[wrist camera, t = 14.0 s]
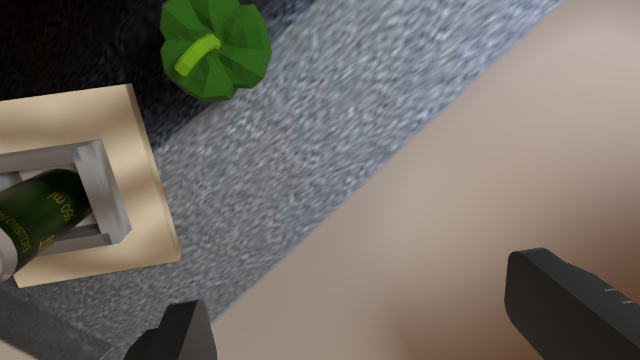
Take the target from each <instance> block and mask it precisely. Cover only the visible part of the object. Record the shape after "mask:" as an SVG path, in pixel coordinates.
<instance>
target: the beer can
mask: <svg viewBox="0 0 640 360" xmlns="http://www.w3.org/2000/svg"><path fill="white" fill-rule="evenodd" d="M92 211H93V210H92V207H91V204H90V202H89V199H88V196H87V194H86V191H85V188H84V186H83V183H82V180H81V178H80V175H79V173H78V172H75V171H73V170H68V169H60V168H56V169H50V170H47V171H44V172H42V173H40V174H38V175H36V176H33V177H31V178H29V179H27V180H24V181H22V182H20V183H18V184H16V185H13V186H11V187H9V188H7V189H5V190H2V191H0V283H2V282H4V281H6V280H8V279H9V278H10V277H11V276H13V275H14V274H15V273H16V272H18V271H19V270H20V269H22V268H23V267H24V266H25V265H27V264H28V263H29V262H30V261H32V260H33V259H34V258H36V257H37V256H38V255H39V254H41V253H42V252H43V251H44V250H46V249H47V248H48V247H50V246H51V245H52V244H53V243H55V242H56V241H57V240H58V239H60V238H61V237H62V236H64V235H65V234H66V233H67V232H69V231H70V230H71V229H73V228H74V227H75V226H76V225H78V224H79V223H80V222H81V221H83V220H84V219H85V218H87V217H88V215H89V214H90V213H91V212H92Z"/></svg>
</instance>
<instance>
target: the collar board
mask: <svg viewBox="0 0 640 360" xmlns="http://www.w3.org/2000/svg"><path fill="white" fill-rule="evenodd" d="M56 168H60V169H68V170H73V171H75V172H78V173H79V175H80V178H81V180H82V183H83V186H84V188H85V191H86V194H87V196H88V199H89V202H90V204H91V207H92V210H93V211H92V212H91V213H90V214H89V215H88V217H87V218H85V219H84V220H83V221H81V222H80V223H79V224H78V225H76V226H75V227H74V228H73V229H71V230H70V231H69V232H67V233H66V234H65V235H64V236H62V237H61V238H60V239H58V240H57V241H56V242H55V243H53V244H52V245H51V246H50V247H48V248H47V249H46V250H44V251H43V252H42V253H41V254H39V255H38V256H37V257H36V258H34V259H33V260H32V261H30V262H29V263H28V264H27V265H25V266H24V267H23V268H22V269H20V270H19V271H18V272H16V273H15V274H14V275H13V276H14V279H15V281H16V283H17V285H18V287H19V288H22V287H28V286H34V285H40V284H46V283H52V282H58V281H63V280H69V279H75V278H81V277H87V276H93V275H99V274H105V273H111V272H116V271H122V270H128V269H134V268H140V267H146V266H152V265H158V264H163V263H169V262H175V261H179V259H180V257H181V255H182V252H181V248H180V245H179V241H178V238H177V235H176V231H175V228H174V225H173V221H172V218H171V214H170V211H169V208H168V204H167V201H166V198H165V194H164V191H163V187H162V184H161V181H160V177H159V174H158V171H157V167H156V164H155V160H154V157H153V154H152V150H151V147H150V144H149V140H148V137H147V133H146V130H145V127H144V123H143V120H142V117H141V113H140V110H139V107H138V103H137V100H136V96H135V93H134V90H133V86H132V84H124V85H117V86H110V87H102V88H95V89H88V90H80V91H73V92H66V93H58V94H51V95H44V96H36V97H29V98H22V99H14V100H7V101H0V191H2V190H5V189H7V188H9V187H11V186H13V185H16V184H18V183H20V182H22V181H24V180H27V179H29V178H31V177H33V176H36V175H38V174H40V173H42V172H44V171H47V170H50V169H56Z"/></svg>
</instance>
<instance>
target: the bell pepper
mask: <svg viewBox="0 0 640 360" xmlns="http://www.w3.org/2000/svg"><path fill="white" fill-rule="evenodd" d="M159 29H160V31H161V32H162V34H163V36H164V38H165V40H166V41H165V42H164V44H163V46H162V48H161V49H160V54H161V59H162V63H163V68H164V73H165V74H166V75H167V76H168V77H169V78H170V79H171V80H172V81H173V82H175V83H176V84H177V85H178V86H179V87H180V88H181V89H182V90H183V91H184V92H185V93H187V94H189V95H191V96H193V97H195V98H197V99H198V100H200V101H202V102H204V103H208V102H215V101H223V100H230V99H231V98H232V97H233V95H234V94H235V92H236V90H237V88H249V89H252V88H253V87H254V86H255V85H256V84H258V83H259V82H260V81H261V80H262V79H263V78H264V75H265V72H266V69H267V66H268V63H269V60H270V57H271V53H272V51H271V46H270V41H269V36H268V31H267V26H266V23H265V21H264V20H263V18H262V16H261V15H260V13H259V11H258V10H257V8H256V6H255V5H254V4H250V5H240V4H239V2H238V0H168V1H166V2H165V3H164V4H162V11H161V19H160V27H159Z"/></svg>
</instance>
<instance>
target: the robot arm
mask: <svg viewBox="0 0 640 360" xmlns="http://www.w3.org/2000/svg"><path fill="white" fill-rule="evenodd" d="M504 299H505V300H504V303H505V308H506V312H507V314H508V316H509V319H510V320H511V322H512V324H513V325H514V326H515V327H516V328H517V329H518V331H519V332H520V333H521V334H522V335H523V336H524V337H525V339H526V340H527V341H528V342H529V343H530V344H531V345H532V346H533V348H534V349H535V350H536V351H537V352H538V353H539V354H540V355H541V357H542V358H543V359H544V360H640V306H639V305H638V304H637V303H632V301H631V299H629V298H628V297H626V296H625V295H623V294H622V293H620V292H619V291H615V290H614V288H613V287H612V286H610V285H609V284H607V283H606V282H604V281H603V280H601V279H600V278H598V277H597V276H596V275H594V274H592V273H590V272H587V271H585V270H582V269H580V268H578V267H576V266H573V265H571V264H569V263H568V264H567V263H566V262H564V261H563V260H561V259H560V258H559V257H557V256H556V255H554V254H553V253H552V252H550V251H549V250H547V249H545V248H534V249H528V250H522V251H515V252H512V253H511V254H510V255H509V258H508V266H507V277H506V287H505V298H504ZM123 360H217V351H216V346H215V342H214V338H213V334H212V331H211V327H210V323H209V319H208V315H207V311H206V307H205V304H204V302H203V301H202V300H194V301H188V302H181V303H175V304H170V305H169V306H168V307H167V309H166V311H165V313H164V315H163V317H162V320H161V322H160V324H159V326H158V328H155V329H149V330H146V331H145V332H144V333H143V334H142V336H141V337H140V338H139V339H138V340H137V341H136V342H135V343H134V344H133V345H132V346H131V347H130V348H129V350H128V351H127V353H126V355H125V357H124V359H123Z"/></svg>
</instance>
